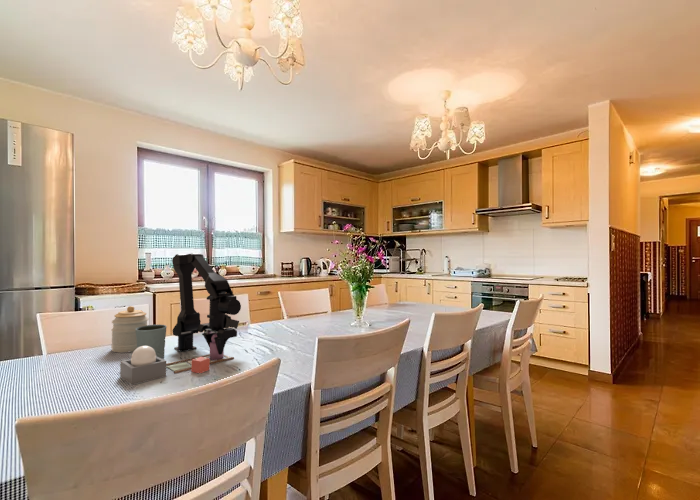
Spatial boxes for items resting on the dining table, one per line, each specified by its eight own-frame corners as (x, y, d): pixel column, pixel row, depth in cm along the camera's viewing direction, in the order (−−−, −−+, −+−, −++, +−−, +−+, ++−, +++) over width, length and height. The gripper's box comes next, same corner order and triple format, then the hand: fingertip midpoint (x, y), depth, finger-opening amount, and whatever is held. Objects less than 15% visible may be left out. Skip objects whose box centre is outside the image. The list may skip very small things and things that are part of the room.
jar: (154, 347, 147) (155, 305, 147) (120, 355, 136) (121, 309, 136) (138, 343, 154) (139, 302, 154) (104, 349, 143) (105, 306, 143)
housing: (120, 377, 113) (120, 361, 113) (153, 369, 120) (153, 354, 120) (131, 384, 106) (132, 368, 106) (166, 376, 114) (166, 360, 114)
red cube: (191, 371, 119) (191, 358, 119) (200, 368, 122) (201, 355, 122) (200, 373, 117) (200, 360, 117) (209, 369, 121) (209, 356, 121)
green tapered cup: (171, 357, 134) (172, 326, 134) (146, 364, 125) (147, 331, 125) (154, 353, 138) (154, 323, 139) (128, 360, 129) (129, 328, 129)
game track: (160, 366, 124) (160, 364, 124) (218, 353, 140) (218, 351, 140) (174, 373, 117) (174, 371, 117) (233, 358, 134) (233, 357, 134)
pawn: (207, 358, 134) (207, 333, 134) (219, 355, 137) (219, 331, 138) (213, 361, 130) (214, 335, 131) (226, 358, 134) (226, 333, 134)
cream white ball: (127, 367, 113) (127, 346, 113) (150, 362, 118) (151, 342, 118) (135, 372, 108) (136, 350, 108) (159, 366, 114) (159, 345, 114)
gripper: (249, 312, 134) (249, 353, 134) (223, 307, 146) (222, 344, 146) (223, 316, 126) (222, 359, 126) (197, 310, 138) (196, 350, 138)
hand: (216, 352), depth 134 cm, fingers closed on pawn, 5 cm apart
